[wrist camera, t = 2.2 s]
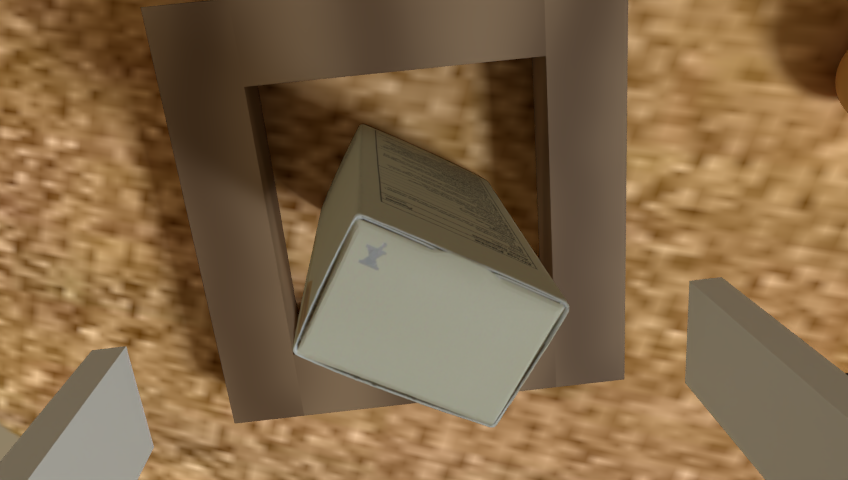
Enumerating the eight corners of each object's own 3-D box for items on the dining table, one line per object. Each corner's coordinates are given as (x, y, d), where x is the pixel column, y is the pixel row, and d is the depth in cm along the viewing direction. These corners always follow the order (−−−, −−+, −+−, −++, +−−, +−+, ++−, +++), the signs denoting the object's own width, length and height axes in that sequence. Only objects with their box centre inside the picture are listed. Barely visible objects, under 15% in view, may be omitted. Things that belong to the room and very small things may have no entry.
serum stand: (606, -38, 26) (628, -41, 23) (606, 351, 31) (624, 379, 29) (163, 6, 25) (140, 7, 23) (246, 391, 31) (234, 423, 29)
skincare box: (318, 211, 28) (273, 353, 17) (360, 118, 27) (343, 203, 16) (453, 269, 30) (496, 439, 18) (498, 183, 28) (576, 307, 17)
